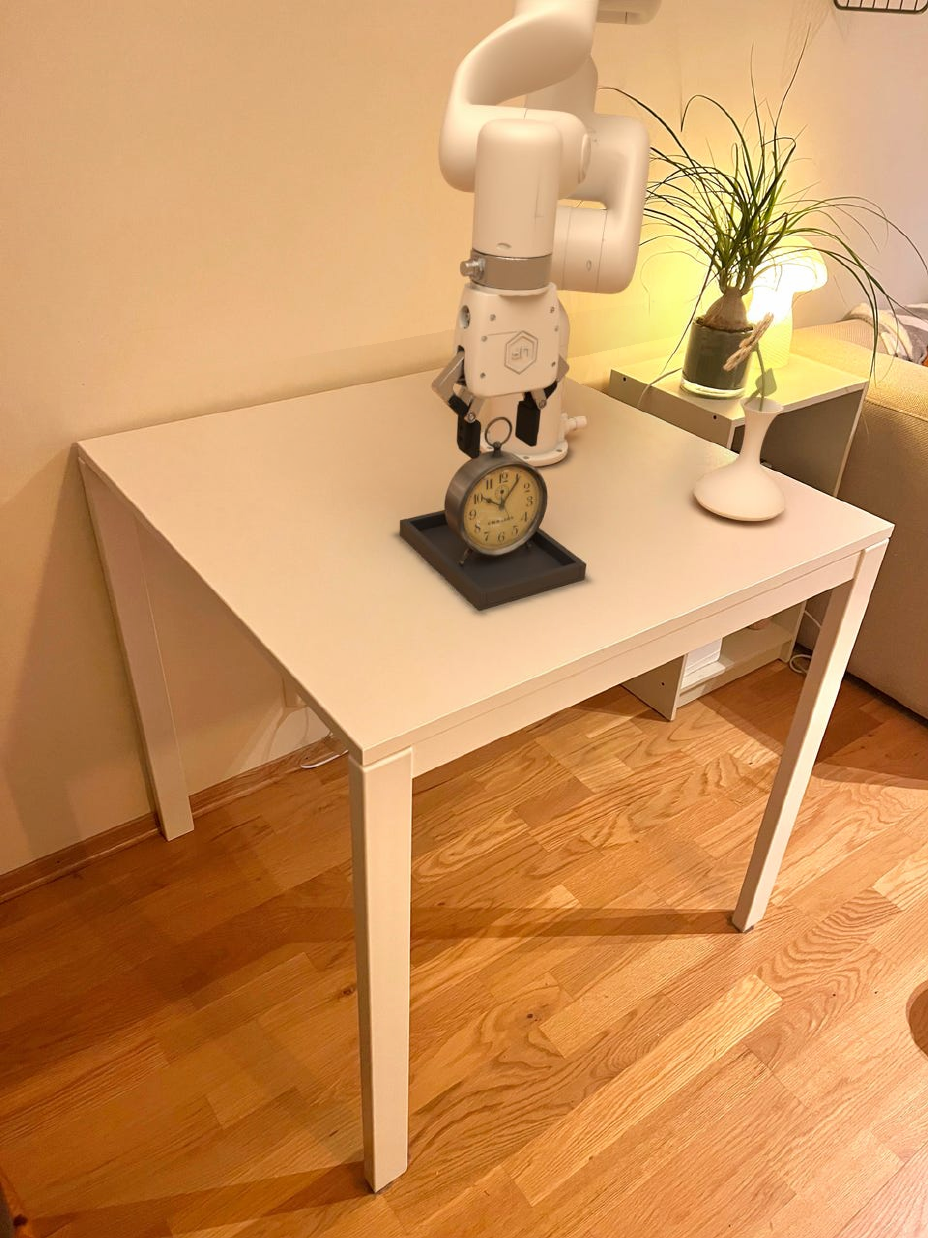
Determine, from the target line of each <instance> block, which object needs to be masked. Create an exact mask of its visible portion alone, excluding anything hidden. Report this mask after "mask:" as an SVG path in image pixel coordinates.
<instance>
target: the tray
mask: <svg viewBox="0 0 928 1238" xmlns="http://www.w3.org/2000/svg"><path fill="white" fill-rule="evenodd" d="M399 536H400V537H401V538H403V540H404V541H405V542H406V543H407V544H408V545H410V547H412V548H413V550H414V551H416V552H417V553H418V554H419V555H420V556H421V557H422V558H423V559H424V560H425V561H426V562H427V563H429V565H431V567H433V569H434V570H436V571H437V573H439V574H440V575H441V576H442V577H443V578H444V579H445V580H446V581H447V582H448V583H449V584H450V585H451V586H453V588H454V589H455V590H457V591H458V592H459V593H460V594H461V595H462V596H463V597H464V598H465V599H466V600H467V601H468V602H470V603H471V605H472V606H473V607H474V608H476V609H477V610H478V611H482V610H486V609H489V608H493V607H497V606H500V605H503V604H506V603H510V602H513V601H516V600H521V599H523V598H526V597H530V596H534V595H536V594H540V593H543V592H547V591H550V590H554V589H557V588H560V587H564V586H567V585H570V584H574V583H576V582H577V583H578V582H581V581H584V580H585V579H586V577H585V576H586V570H587V563H586V562H585V561H583V560H582V559H581V558H580V557H579V556H577V555H576V554H574V553H573V552H572V551H570V549H568V548H566V547H565V546H564V545H563V544H561V543H560V542H559V541H557V540H556V539H555V538H553V536H552V535H549V534H548V533H547V532H546V531H544V530H543V529H542V528H540V527H539V528H538V529H537V531H536V532H535V533H534V535H533V536H532V537H531V538H530V539H529V540H528V541H527V542H528V544H530V545H531V549H530V550H527V549H526V547H525V546H524V545H522V546H521V547H519V548H518V549H516V550H514V551H512V552H510V553H507V554H504V555H500V556H484V555H481V554H478V553H476V552H474V551H473V552H472V553H471V555H470V556H469V558H468V559H467V560H466V561H465V564H464V565H463V566H462V565H460V564H459V562H460V560H462V558H463V556H464V553H465V551H466V549H467V548H468V546H467V545H466V544H465V543H464V542H463V541H462V540H460V539H459V538H458V537H457V536H456V535H455V534H454V533H453V532H452V531H451V529H450V528H449V526H448V523H447V521H446V517H445V511H444V509H442V510H438V511H433V512H429V513H425V514H420V515H416V516H412V517H408V518H404V519H400V520H399Z"/></svg>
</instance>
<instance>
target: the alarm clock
mask: <svg viewBox="0 0 928 1238" xmlns="http://www.w3.org/2000/svg"><path fill="white" fill-rule="evenodd" d="M498 420H505V421H507V422H508V424H509V427H510V430H509V434H508V436H507V438H506V439H505V440H504V441H503V442H502V443H500V442H499V441H496V442H494V443H493V444H491V443H490V442H489V441H488V439H487V433H488V430H489V428H490V426H491V425H492V424H493V423H494V422H496V421H498ZM490 421H491V420H490ZM484 431H485V433H484V436H485V441H486V442H487V443H488V445H490V446H492V447H493V448H494V450H493V451H488V452H484V453H482V452H481V453H480V454H479V457H478V458H476V459H472V458H470V459H468V460H467V461H465V462H464V463H463V464H462V465H461V466H460V467H459V469H457V471H456V472H455V473H454V475H453V476H452V478H451V480H450V482H449V484H448V487H447V489H446V492H445V496H444V502H443V503H444V504H443V508H444V509H443V510H444V511H445V517H446V521H447V523H448V526H449V528H450V529H451V531H452V532H453V533H454V534H455V535H456V536H457V537H458V538H459V539H460V540H462V541H463V542H464V543H465V544H466V545H467V546H468V548H467V549H466V551H465V553H464V556H463V558H462V560H460V562H459V564H460V565H462V566H463V565H464V564H465V561H466V560H467V559H468V558H469V556H470V555H471V553H472V552H473V551H474V552H476V553H478V554H481V555H484V556H500V555H504V554H507V553H510V552H512V551H514V550H516V549H518V548H519V547H521V546H522V545H524V546H525V547H526V549H527V550H530V549H531V545H530V544H528V542H527V541H528V540H529V539H530V538H531V537H532V536H533V535H534V533H535V532H536V531H537V529H538V528H540V526H541V524H542V522H543V520H544V517H545V515H546V511H547V508H548V507H547V506H548V487H547V483H546V481H545V479H544V477H543V475H542V473H541V472H540V471H539V470H538V469H537V467H533V466H532V465H530V464H528V463H526V462H525V461H523V460H522V459H520V458H519V457H517V456H516V455H514V454H512V453H509V452H506V451H501V447H502V445H503V444H505V443H506V442H507V441H508V440H509V438H510V436H511V433H512V423H511V421H510V420H509V419H508V418H506V417H497V418H495V419H493V420H492V421H491V422H488V424H487V426H486V427H485V430H484Z"/></svg>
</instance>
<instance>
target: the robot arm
mask: <svg viewBox="0 0 928 1238" xmlns="http://www.w3.org/2000/svg"><path fill="white" fill-rule="evenodd" d="M662 3H663V0H514V5H513V9H512V14H511V19H509V20H508V21H507V22H505V23H503V24H502V25H500V26H499V27H497V28H495V30H493V31H492V32H491V33H489V34H488V35H487V36H486V37H484V38H483V39H482V40H481V41H480V42H479V43H478V44H477V45H476V46H475V47H473V48H472V49H471V50H470V51H469V52H468V54H466V56H465V57H464V58H463V59H462V61H461V62H460V63H459V65H458V67H457V68H456V71H455V72H454V74H453V77H452V80H451V83H450V86H449V90H448V95H447V99H446V102H445V106H444V112H443V116H442V120H441V125H440V130H439V139H438V149H437V156H438V164H439V170H440V173H441V176H442V178H443V179H444V181H445V182H446V183H447V184H448V185H449V186H450V188H452V189H455V190H457V191H460V192H463V193H471V194H473V214H472V215H473V217H472V235H471V249H470V251H469V252H470V253H469V259H468V260H463V261H461V262H460V263H459V272H460V275H461V276H462V277H468V279H469V282H466V283H465V284H464V285H463V290H462V292H461V297H460V301H459V306H458V310H457V315H456V321H455V322H456V323H455V329H454V336H453V337H454V338H453V345H452V346H453V347H452V357H451V358H452V359H451V360H450V361H449V362H448V363H447V365H446V366H445V367H444V368H443V370H442V371H441V372H440V373H439V374H438V376H436V378H435V379H434V380H433V381H432V383H431V389H432V390H433V392H434V393H435V394H436V395H437V396H438V397H439V398H440V399H441V400H442V401H443V403H445V405H447V407H448V408H450V409H451V410H452V411H453V413H454V414H455V415H457V424H456V425H457V426H456V444H457V447H458V449H459V451H461V452H462V453H463V454H465V455H466V456H467V457H469V458H470V459H471V458H472V459H476V458H478V457H479V454H481V453H484V452H488V451H493V450H494V448H493V447H492V446H490V445H488V443H487V442H486V441H485V436H484V433H485V430H483V431H482V423H481V421H480V420H478V419H477V418H478V416H479V414H480V411H481V409H482V406H483V404H484V402H485V400H486V399H491V405H490V407H491V408H490V422H491V421H492V420H493V419H495V418H497V417H506V418H508V419H509V420H510V421H511V423H512V433H511V436H510V438H509V440H508V441H507V442H506V443H505V444H503V445H502V447H501V451H506V452H509V453H512V454H514V455H516V456H517V457H519V458H520V459H522V460H523V461H525V462H526V463H528V464H530V465H532V466H533V467H534V468H537V467H544V466H549V465H553V464H556V463H558V462H560V461H561V460H563V459H564V458H566V456H567V455H568V450H569V443H568V440H567V439H566V438H565V436H566V435H568V434H569V433H570V432H573V431H574V432H575V431H580V430H584V429H586V428H587V425H588V420H587V418H586V416H585V415H584V414H583V415H577V416H571V417H569V414H568V413H567V412H562V407H563V406H562V405H563V396H564V388H565V379H566V375H567V374H568V373H569V371H570V365H569V364H568V352H569V344H570V336H571V324H570V319H569V316H568V313H567V310H566V309H565V307H564V305H563V303H562V302H561V300H560V298H559V296H558V295H559V294H558V291H567V292H578V293H579V292H580V293H591V294H602V295H607V294H608V295H616V294H620V293H622V292H624V291H625V290H626V289H627V288H628V287H629V286H630V284H631V283H632V281H633V278H634V275H635V273H636V268H637V264H638V262H637V261H638V256H639V250H640V242H641V234H642V226H643V219H644V211H645V204H646V196H647V191H648V190H647V189H648V181H649V174H650V164H651V163H650V162H651V139H650V134H649V130H648V129H647V126H645V124H644V123H643V122H642V121H641V120H639V119H637V118H634V117H631V116H627V115H626V116H625V115H618V114H604V113H603V114H602V113H596V112H595V107H596V106H595V105H596V98H597V92H598V91H597V90H598V84H599V71H598V68H597V66H596V62H595V61H594V59H593V57H592V55H591V52H592V48H593V45H594V38H595V31H596V26H597V25H596V24H597V23H599V24H600V23H601V24H615V25H616V24H617V25H630V26H632V25H633V26H639V25H640V26H641V25H642V26H643V25H646V24H649V23H650V22H651V21H652V20H654V18H655V17H656V16H657V14H658V12H659V10H660V7H661V6H662ZM521 96H525V99H524V105H523V106H524V107H518V106H517V107H515V106H505V105H504V106H502V105H499V104H501V103H503V102H506V101H508V100H512V99H515V98H517V97H521ZM562 200H571V201H572V200H573V201H581V202H582V201H583V202H593V203H600V204H602V205H603V206H604V207H605V209H600V208H590V207H578V206H571V205H561V204H558V203H559V202H558V201H562ZM455 384H456V385H459V386H461V387H460V389H459V392H458V394H457V393H456V392H455V391H454V386H455ZM490 422H489V423H490ZM509 430H510V427H509V424H508V422H507V421H505V420H498V421H496V422H494V423H493V424H492V425H491V426H490V428H489V430H488V433H487V439H488V441H489V442H490V443H491V444H493V443H494V442H496V441H499V442H500V443H502V442H503V441H504V440H505V439H506V438H507V436H508V434H509ZM480 452H481V453H480Z"/></svg>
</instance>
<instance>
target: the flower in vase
mask: <svg viewBox="0 0 928 1238" xmlns="http://www.w3.org/2000/svg"><path fill="white" fill-rule="evenodd" d="M774 318H775V314H774V312H772V313H771V314H770V311H768V312H767V313H766V315H765V316H764V317H763V319H762V320H759V321H758V322H757V323H756V325H755V327H754V328H753V331H752V333H751V334H750V336H749V337H748V338H744V339H742V341H741V342H740V343H739V345H738V348H740V349H738V350H737V351H735V352H734V353H733V354H732V355H730V356H729V357H728V358H727V359H726V361H725V362H726V363H725V364H724V365H723V367H722V369H724V371H726V372H729V371H732V369H734V368H735V367H736V366H737V365H738V364H739V363H740V362H741V361H742V360H743V359H744V358H745V357H746V356H747V355H748V354H749V353H755V352H756V355H757V359H758V362H759V366H760V371H761V374H760V375H758V377H757V378H756V379H755V382H754V384H755V388H756V389H755V390H754V391H753V392H751V395H750V396H749V397H744V398H742V399H741V400H740V401H739V403H740V407H741V408H742V410H743V415H744V435H743V440H742V445H741V448H740V451H739V454H738V456H737V457H736V458H735V460H733V461H732V462H730V463H728V464H727V465H724V466H721V467H719V468H717V469H714V470H712V471H710V472H709V473H706V474H705V475H704V476H702V477H701V478H699V479H698V481H697V482H696V484H695V485H694V487H693V494H694V496H695V498H696V499H695V500H696V501H697V502H698V503H699V505H701V506H702V507H703V508H705V509H706V510H707V511H709V512H712V513H714V514H715V515H719V516H721V517H724V518H728V519H731V520H736V521H744V522H745V521H747V522H760V521H767V520H771V519H774V518H775V517H777V516H779V514H782V512H784V510H785V509H786V507H787V500H786V494H785V493H784V491H783V490H782V489H781V487H780V485H779V484H778V483H777V482H776V481H775V480H774V479H773V477H771V475H769V474H768V472H767V471H766V470H765V469H764V468H763V467H762V465H761V460H760V456H761V450H762V445H763V443H764V439H765V436H766V434H767V431H768V429H769V427H770V425H771V424H772V422H773V420H774V419H775V418H776V417H777V416H778V415H780V413H782V412H783V410H784V406H783V404H781V402H779V401H776V400H773V399H771V398H767V397H768V396H771V395H773V394H774V393H775V392H776V391H777V389H778V385H777V382H776V379H775V375H774V371H773V368H772V367H770V368H768V369H766V370H765V366H764V362H763V361H764V360H763V358H762V354H761V351H760V343H759V341H760V339H761V338H762V337H763V336H764V334H765V333H766V332H767V330H768V328H769V327H770V326H771V324H772V322H773V321H774ZM759 395H760V396H759Z"/></svg>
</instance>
